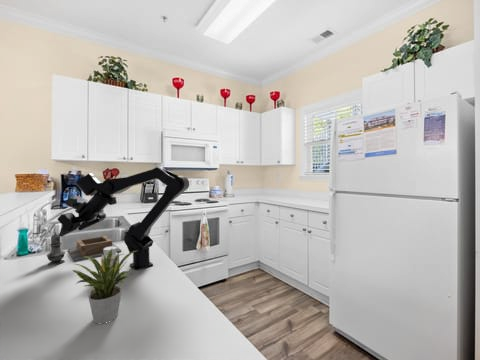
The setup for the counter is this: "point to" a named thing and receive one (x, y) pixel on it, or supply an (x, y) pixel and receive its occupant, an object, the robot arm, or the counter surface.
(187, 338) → the counter surface
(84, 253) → the end holder
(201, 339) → the counter surface
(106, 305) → the house plant
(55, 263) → the grey stone pawn figure
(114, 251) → the supplement bottle
